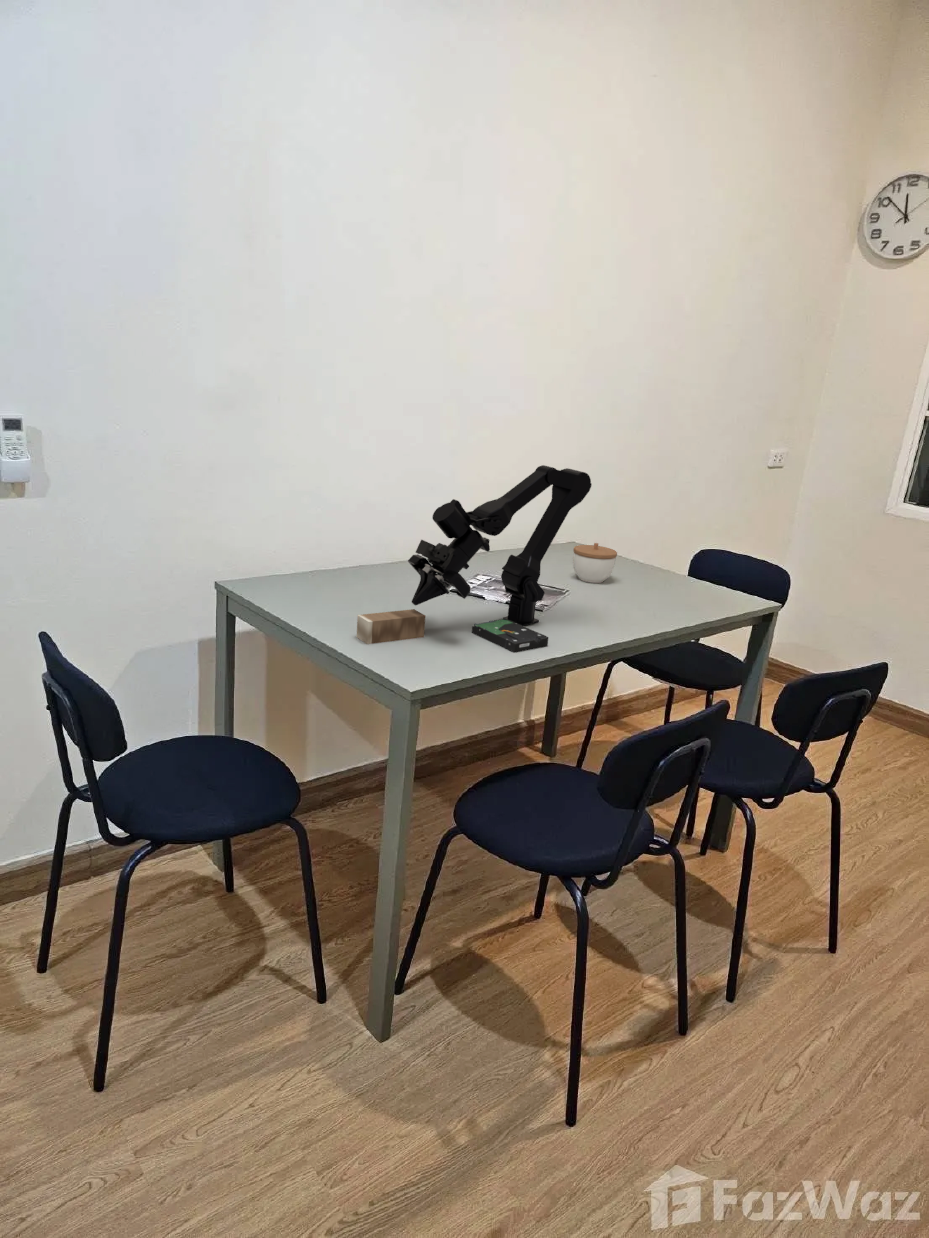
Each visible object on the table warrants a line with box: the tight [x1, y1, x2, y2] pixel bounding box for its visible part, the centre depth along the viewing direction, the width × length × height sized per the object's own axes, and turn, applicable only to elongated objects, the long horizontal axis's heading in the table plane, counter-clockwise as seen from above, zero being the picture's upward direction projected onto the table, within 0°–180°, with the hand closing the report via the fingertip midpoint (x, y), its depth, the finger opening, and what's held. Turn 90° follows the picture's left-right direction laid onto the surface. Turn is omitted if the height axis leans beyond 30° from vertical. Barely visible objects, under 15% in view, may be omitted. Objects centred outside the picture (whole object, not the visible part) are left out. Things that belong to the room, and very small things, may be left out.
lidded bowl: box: [572, 542, 618, 584], centre depth 249 cm, size 13×13×11 cm
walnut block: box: [356, 608, 427, 645], centre depth 185 cm, size 5×5×14 cm
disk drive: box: [471, 618, 549, 654], centre depth 191 cm, size 10×3×15 cm
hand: (413, 603), depth 187 cm, fingers closed
